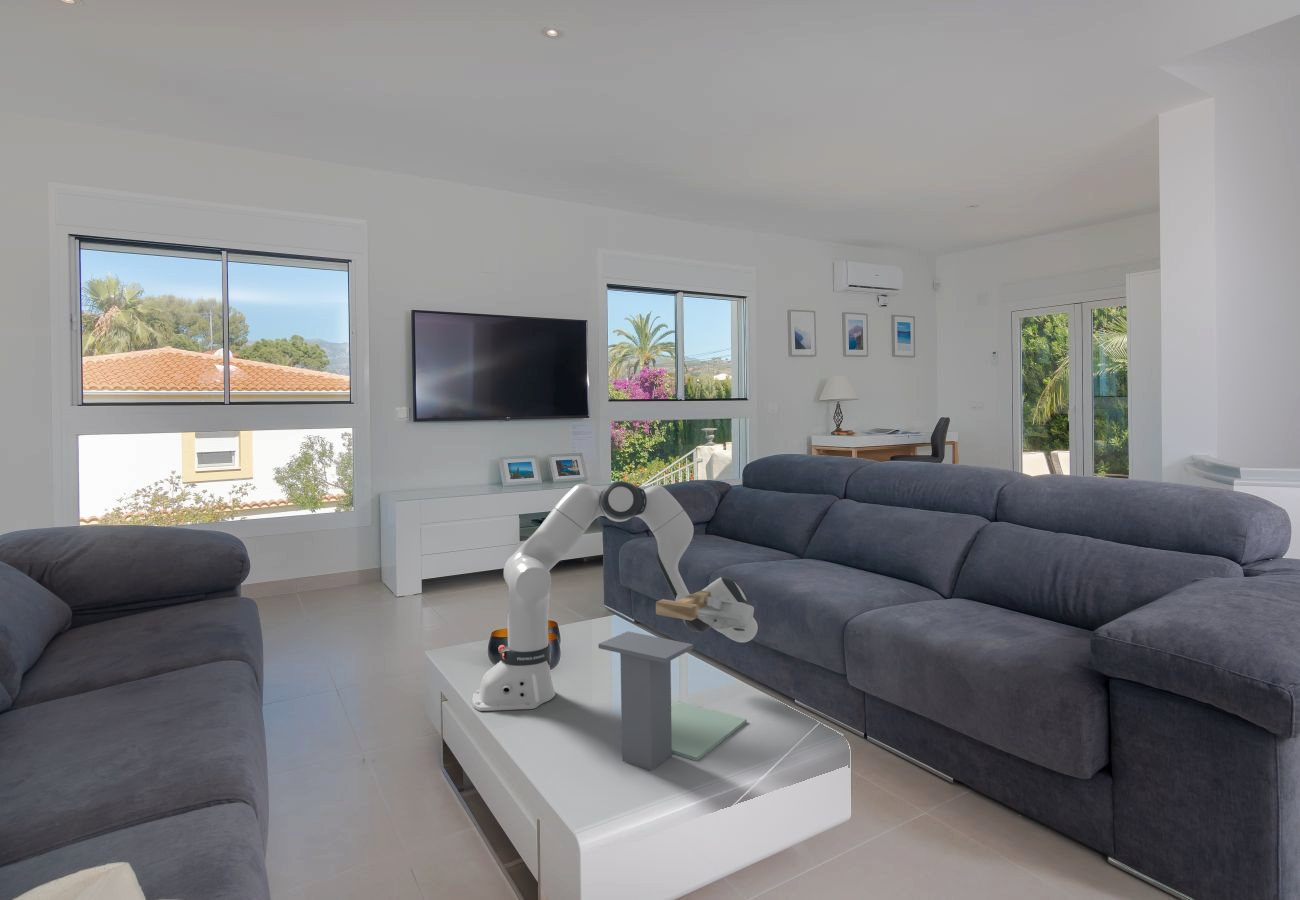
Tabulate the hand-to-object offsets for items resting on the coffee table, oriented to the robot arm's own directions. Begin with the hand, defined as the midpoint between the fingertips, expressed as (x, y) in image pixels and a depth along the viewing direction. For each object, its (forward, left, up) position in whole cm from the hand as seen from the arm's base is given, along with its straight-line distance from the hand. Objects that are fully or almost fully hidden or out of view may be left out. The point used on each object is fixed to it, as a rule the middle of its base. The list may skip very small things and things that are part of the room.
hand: (698, 598), depth 176 cm
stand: (-18, -15, -31) cm, 39 cm away
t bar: (-3, -3, -2) cm, 5 cm away
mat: (-5, -4, -31) cm, 32 cm away
